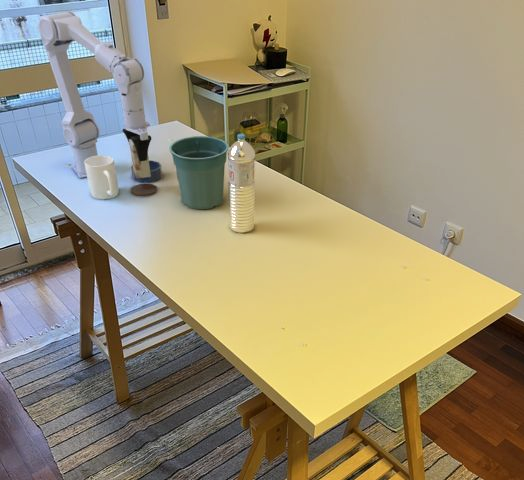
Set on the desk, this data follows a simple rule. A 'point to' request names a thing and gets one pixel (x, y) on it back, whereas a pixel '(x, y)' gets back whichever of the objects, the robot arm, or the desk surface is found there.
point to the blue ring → (154, 171)
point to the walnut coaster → (144, 189)
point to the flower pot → (200, 170)
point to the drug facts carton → (139, 163)
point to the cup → (101, 177)
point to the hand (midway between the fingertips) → (139, 157)
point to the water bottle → (241, 185)
